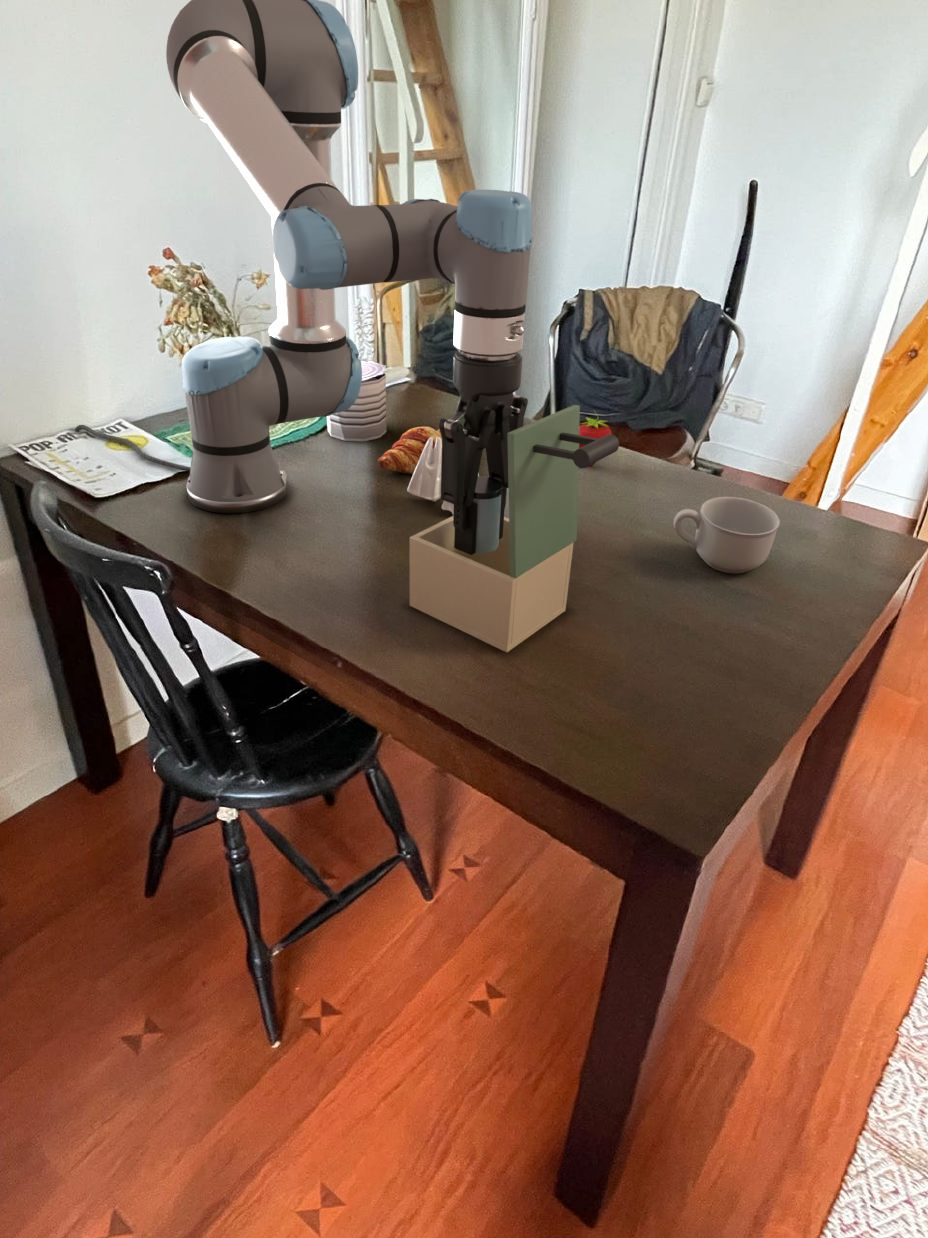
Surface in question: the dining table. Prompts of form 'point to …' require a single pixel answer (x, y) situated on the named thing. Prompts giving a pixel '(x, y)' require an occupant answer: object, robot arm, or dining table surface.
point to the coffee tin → (487, 513)
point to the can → (363, 408)
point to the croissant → (408, 450)
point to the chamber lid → (547, 485)
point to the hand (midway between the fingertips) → (478, 542)
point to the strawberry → (593, 430)
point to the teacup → (731, 533)
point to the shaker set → (429, 474)
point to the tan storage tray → (485, 587)
